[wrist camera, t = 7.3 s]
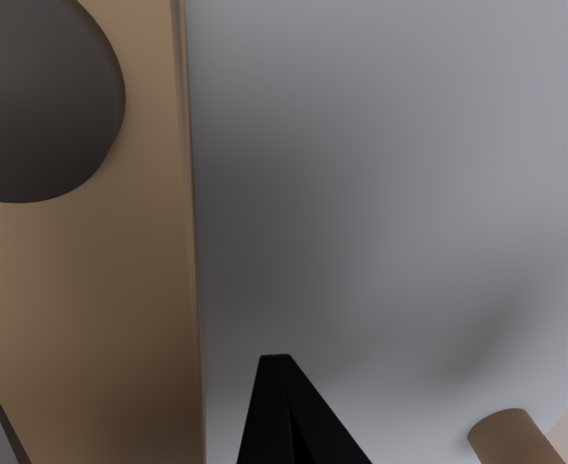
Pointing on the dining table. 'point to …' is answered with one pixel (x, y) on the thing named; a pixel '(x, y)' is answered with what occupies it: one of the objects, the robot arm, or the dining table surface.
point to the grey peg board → (384, 219)
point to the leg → (99, 234)
